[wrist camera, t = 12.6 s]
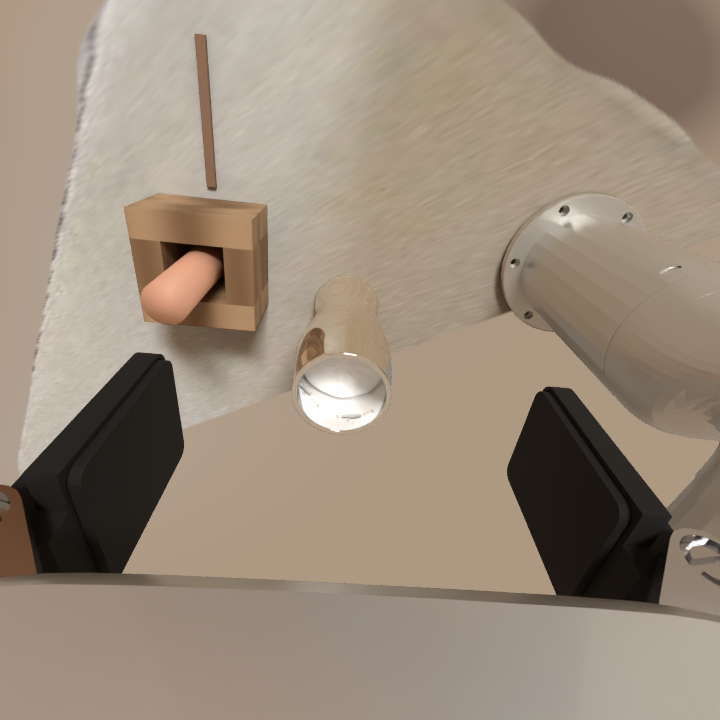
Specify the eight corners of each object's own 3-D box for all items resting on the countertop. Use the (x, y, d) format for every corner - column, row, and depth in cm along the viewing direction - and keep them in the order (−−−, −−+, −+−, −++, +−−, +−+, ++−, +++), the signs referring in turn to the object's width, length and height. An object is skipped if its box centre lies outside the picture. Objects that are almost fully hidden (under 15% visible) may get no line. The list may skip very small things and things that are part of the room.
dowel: (234, 236, 36) (185, 283, 26) (236, 269, 38) (190, 326, 27) (200, 232, 36) (136, 279, 26) (203, 265, 38) (144, 322, 27)
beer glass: (354, 349, 42) (353, 452, 29) (296, 312, 40) (268, 406, 27) (397, 297, 39) (417, 386, 26) (337, 255, 37) (327, 329, 24)
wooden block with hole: (267, 204, 35) (251, 220, 30) (268, 303, 39) (255, 331, 34) (158, 193, 34) (123, 206, 29) (172, 294, 39) (144, 321, 34)
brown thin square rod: (206, 35, 29) (204, 34, 29) (216, 187, 34) (215, 187, 34) (196, 34, 29) (194, 33, 29) (208, 185, 34) (206, 186, 34)
